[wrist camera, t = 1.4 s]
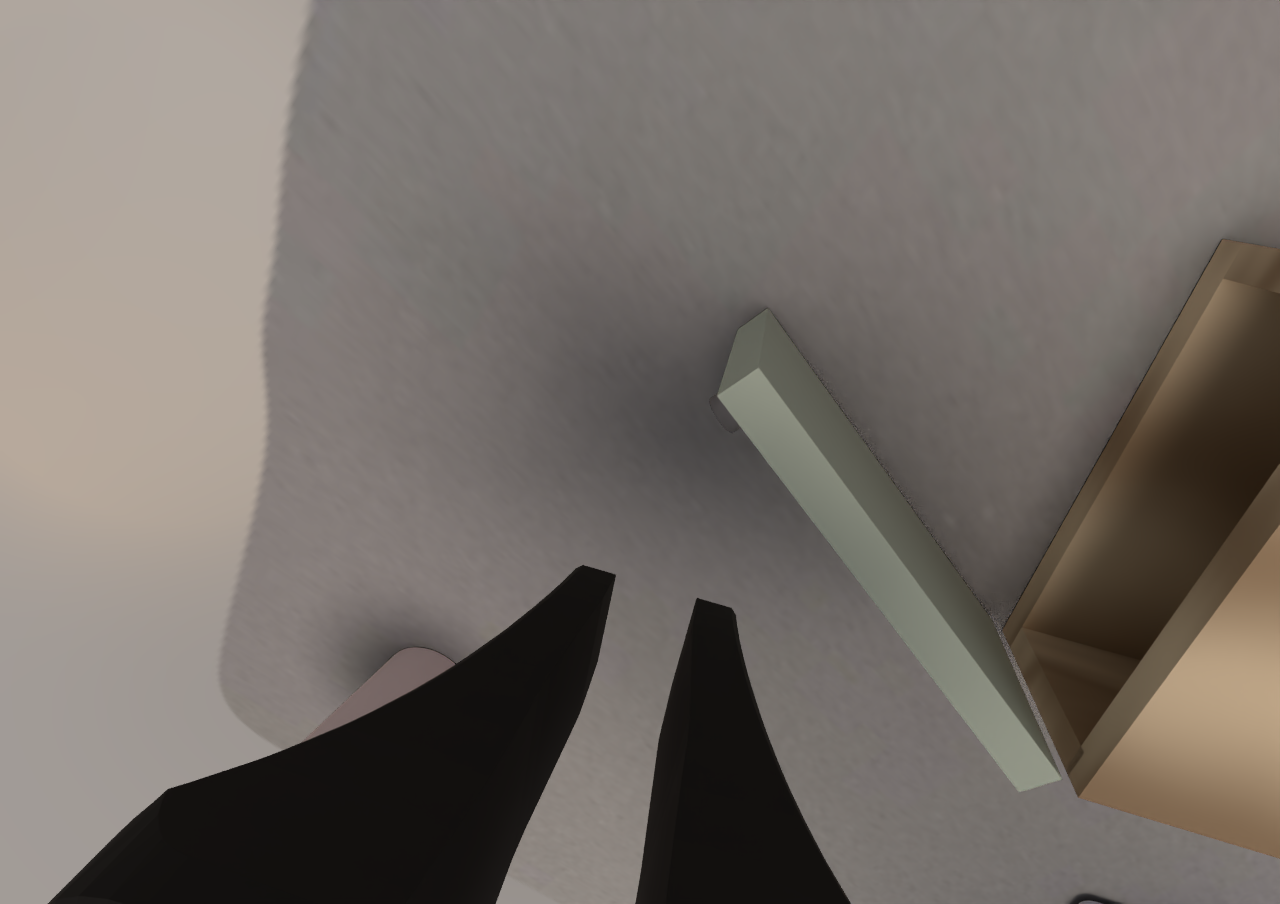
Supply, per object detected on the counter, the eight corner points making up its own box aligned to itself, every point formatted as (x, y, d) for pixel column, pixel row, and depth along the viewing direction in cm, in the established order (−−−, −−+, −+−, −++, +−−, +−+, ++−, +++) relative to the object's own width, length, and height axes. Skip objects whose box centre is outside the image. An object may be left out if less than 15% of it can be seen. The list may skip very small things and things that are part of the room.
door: (992, 620, 20) (1062, 779, 15) (934, 644, 21) (981, 803, 16) (768, 308, 18) (758, 367, 13) (711, 347, 18) (681, 419, 13)
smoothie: (532, 700, 26) (291, 1201, 13) (442, 762, 29) (172, 1226, 16) (413, 592, 25) (33, 1025, 12) (331, 667, 28) (-49, 1083, 15)
